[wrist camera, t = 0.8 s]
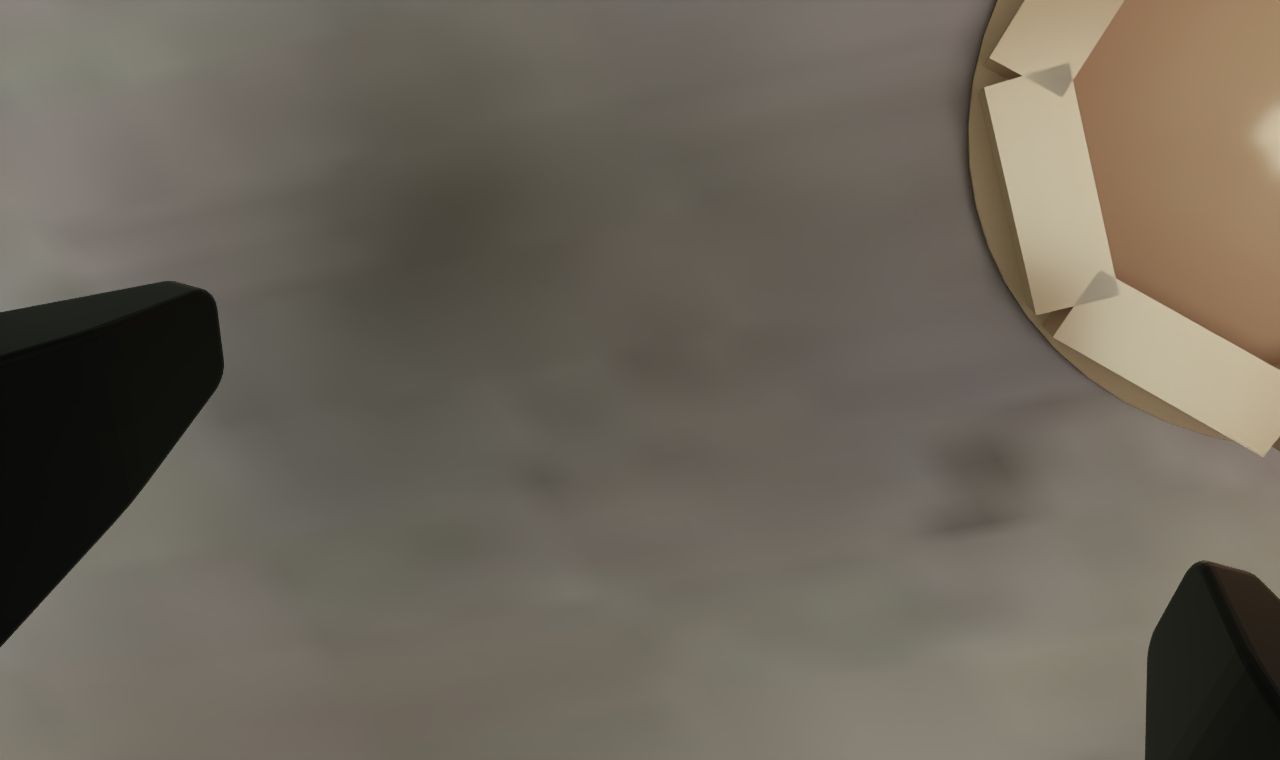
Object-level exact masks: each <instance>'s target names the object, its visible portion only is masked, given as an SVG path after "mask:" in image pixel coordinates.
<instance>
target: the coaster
mask: <svg viewBox="0 0 1280 760" xmlns="http://www.w3.org/2000/svg"><path fill="white" fill-rule="evenodd" d="M968 153H969V170H970V176H971V183H972V189H973V195H974V201H975V207H976V210H977V214H978V217H979V220H980V223H981V227H982V230H983V233H984V236H985V240H986V243H987V246H988V248H989V250H990V252H991V254H992V256H993V259H994V261H995V263H996V265H997V267H998V269H999V271H1000V274H1001V276H1002V278H1003V280H1004V282H1005V284H1006V285H1007V287H1008V288H1009V290H1010V291H1011V293H1012V294H1013V296H1014V297H1015V299H1016V300H1017V302H1018V303H1019V305H1020V307H1021V308H1022V310H1023V311H1024V313H1025V314H1026V316H1027V317H1028V318H1029V319H1030V320H1031V321H1032V323H1033V324H1034V325H1035V326H1036V327H1037V328H1038V329H1039V331H1040V332H1041V333H1042V334H1043V335H1044V336H1045V337H1046V339H1047V340H1048V341H1049V342H1050V343H1051V344H1052V345H1053V347H1054V348H1055V349H1056V350H1057V351H1058V352H1059V353H1061V354H1062V355H1063V356H1064V357H1065V358H1066V359H1067V360H1069V361H1070V362H1071V363H1072V364H1073V365H1074V366H1075V367H1077V368H1078V369H1079V370H1080V371H1081V372H1082V373H1083V374H1085V375H1086V376H1087V377H1088V378H1089V379H1091V380H1092V381H1094V382H1096V383H1097V384H1099V385H1100V386H1102V387H1103V388H1105V389H1106V390H1108V391H1109V392H1111V393H1112V394H1114V395H1115V396H1117V397H1118V398H1120V399H1121V400H1123V401H1124V402H1126V403H1128V404H1130V405H1132V406H1135V407H1137V408H1139V409H1141V410H1143V411H1145V412H1147V413H1149V414H1151V415H1153V416H1155V417H1157V418H1159V419H1161V420H1163V421H1166V422H1169V423H1172V424H1175V425H1177V426H1180V427H1183V428H1186V429H1189V430H1192V431H1195V432H1198V433H1201V434H1204V435H1207V436H1212V437H1216V438H1221V439H1226V440H1230V441H1235V442H1237V443H1239V444H1241V445H1243V446H1245V447H1246V448H1248V449H1250V450H1252V451H1253V452H1255V453H1257V454H1259V455H1260V456H1262V457H1264V455H1265V454H1266V453H1267V452H1268V450H1269V449H1270V448H1271V447H1274V448H1276V449H1277V450H1278V451H1280V0H997V2H996V5H995V7H994V10H993V13H992V15H991V18H990V21H989V23H988V26H987V29H986V31H985V34H984V36H983V40H982V44H981V48H980V52H979V56H978V60H977V65H976V69H975V73H974V77H973V81H972V90H971V99H970V108H969V118H968Z"/></svg>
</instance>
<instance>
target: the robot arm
mask: <svg viewBox="0 0 1280 760" xmlns="http://www.w3.org/2000/svg"><path fill="white" fill-rule="evenodd" d="M223 369H224V359H223V351H222V343H221V335H220V327H219V319H218V311H217V306H216V302H215V300H214V298H213V296H212V295H211V294H210V293H209V292H207V291H206V290H204V289H200V288H197V287H193V286H189V285H186V284H182V283H178V282H175V281H164V282H159V283H153V284H148V285H143V286H137V287H132V288H127V289H122V290H116V291H111V292H106V293H100V294H95V295H90V296H85V297H79V298H74V299H69V300H63V301H58V302H53V303H48V304H42V305H37V306H32V307H26V308H21V309H16V310H11V311H5V312H0V647H1V646H2V645H3V644H4V643H5V642H6V641H7V640H8V638H9V637H10V636H11V635H12V634H13V633H14V632H15V631H16V630H17V629H18V628H19V626H20V625H21V624H22V623H23V622H24V621H25V620H26V619H27V618H28V617H29V615H30V614H31V613H32V612H33V611H34V610H35V609H36V608H37V607H38V606H39V605H40V603H41V602H42V601H43V600H44V599H45V598H46V597H47V596H48V595H49V594H50V592H51V591H52V590H53V589H54V588H55V587H56V586H57V585H58V584H59V583H60V582H61V580H62V579H63V578H64V577H65V576H66V575H67V574H68V573H69V572H70V571H71V569H72V568H73V567H74V566H75V565H76V564H77V563H78V562H79V561H80V560H81V559H82V557H83V556H84V555H85V554H86V553H87V552H88V551H89V550H90V549H91V548H92V546H93V545H94V544H95V543H96V542H97V541H98V540H99V539H100V538H101V537H102V536H103V534H104V533H105V532H106V531H107V530H108V529H109V528H110V527H111V526H112V525H113V523H114V522H115V521H116V520H117V519H118V518H119V517H120V516H121V514H122V513H123V512H124V511H125V510H126V509H127V507H128V506H129V505H130V504H131V503H132V502H133V500H134V499H135V498H136V496H137V495H138V494H139V493H140V491H141V490H142V489H143V487H144V486H145V485H146V484H147V482H148V481H149V480H150V478H151V477H152V476H153V474H154V473H155V472H156V470H157V469H158V467H159V466H160V465H161V463H162V462H163V461H164V459H165V458H166V457H167V455H168V454H169V453H170V451H171V450H172V449H173V447H174V446H175V444H176V443H177V442H178V440H179V439H180V438H181V436H182V435H183V434H184V432H185V431H186V430H187V428H188V427H189V426H190V424H191V423H192V421H193V420H194V419H195V417H196V416H197V415H198V413H199V412H200V411H201V409H202V408H203V407H204V405H205V404H206V403H207V401H208V400H209V398H210V397H211V396H212V394H213V393H214V392H215V390H216V389H217V387H218V385H219V383H220V381H221V378H222V375H223ZM1145 760H1280V599H1279V598H1278V597H1277V596H1276V595H1275V594H1274V593H1273V592H1272V591H1271V590H1270V589H1269V588H1268V587H1267V586H1266V585H1265V584H1264V583H1263V582H1262V581H1261V580H1260V579H1259V578H1257V577H1256V576H1255V575H1254V574H1252V573H1250V572H1247V571H1243V570H1240V569H1236V568H1232V567H1228V566H1225V565H1221V564H1217V563H1213V562H1210V561H1204V560H1203V561H1199V562H1197V563H1194V564H1193V565H1192V566H1191V567H1190V568H1189V569H1188V571H1187V572H1186V574H1185V575H1184V577H1183V579H1182V581H1181V583H1180V584H1179V586H1178V588H1177V590H1176V592H1175V593H1174V595H1173V597H1172V599H1171V601H1170V602H1169V604H1168V606H1167V608H1166V610H1165V611H1164V613H1163V615H1162V617H1161V619H1160V620H1159V622H1158V624H1157V626H1156V628H1155V630H1154V632H1153V635H1152V637H1151V640H1150V644H1149V649H1148V656H1147V691H1146V735H1145Z"/></svg>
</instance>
